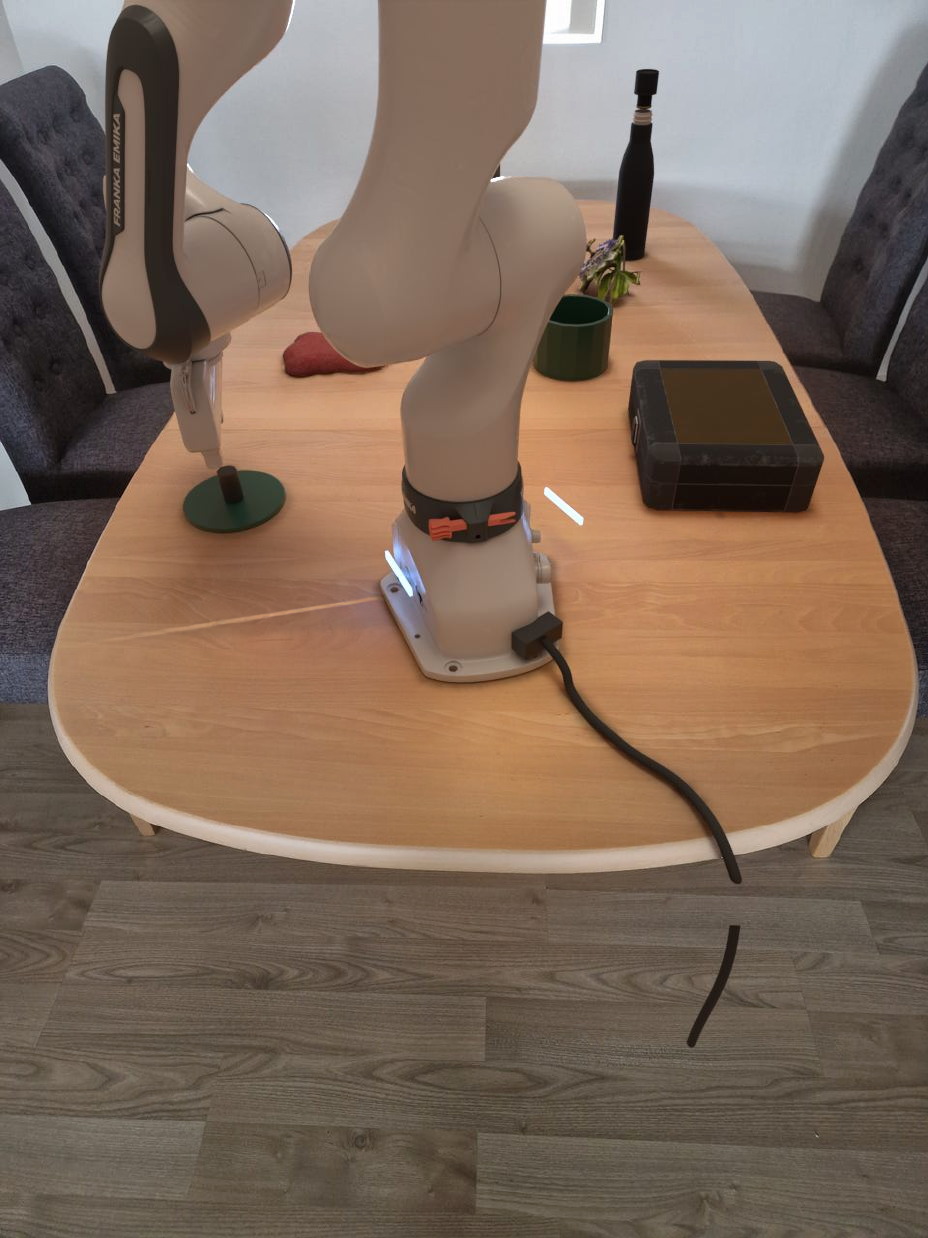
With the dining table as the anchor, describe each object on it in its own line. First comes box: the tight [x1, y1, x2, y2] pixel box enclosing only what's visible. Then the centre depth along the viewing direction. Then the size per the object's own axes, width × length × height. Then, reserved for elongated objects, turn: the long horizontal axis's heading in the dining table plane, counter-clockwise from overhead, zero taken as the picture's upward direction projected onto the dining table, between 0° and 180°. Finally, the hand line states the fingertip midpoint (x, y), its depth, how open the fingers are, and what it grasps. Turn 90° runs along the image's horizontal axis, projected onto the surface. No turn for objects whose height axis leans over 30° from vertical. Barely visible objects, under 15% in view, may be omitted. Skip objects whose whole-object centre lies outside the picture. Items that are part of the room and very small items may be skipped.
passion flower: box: [578, 235, 643, 305], centre depth 141 cm, size 11×11×12 cm
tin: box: [532, 293, 614, 382], centre depth 122 cm, size 11×11×8 cm
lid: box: [182, 464, 287, 534], centre depth 98 cm, size 12×12×5 cm
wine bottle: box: [612, 68, 660, 261], centre depth 147 cm, size 6×6×30 cm
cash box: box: [627, 359, 825, 514], centre depth 102 cm, size 25×20×8 cm
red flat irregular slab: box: [282, 331, 383, 377], centre depth 128 cm, size 18×14×2 cm
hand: (216, 442), depth 94 cm, fingers open, 8 cm apart
